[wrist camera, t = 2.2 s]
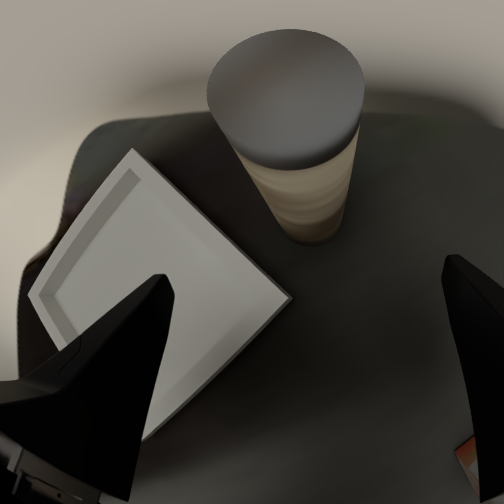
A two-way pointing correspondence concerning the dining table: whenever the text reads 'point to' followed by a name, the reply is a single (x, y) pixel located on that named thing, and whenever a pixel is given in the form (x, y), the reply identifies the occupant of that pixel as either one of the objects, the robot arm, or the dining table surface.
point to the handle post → (292, 124)
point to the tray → (157, 262)
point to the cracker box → (473, 468)
